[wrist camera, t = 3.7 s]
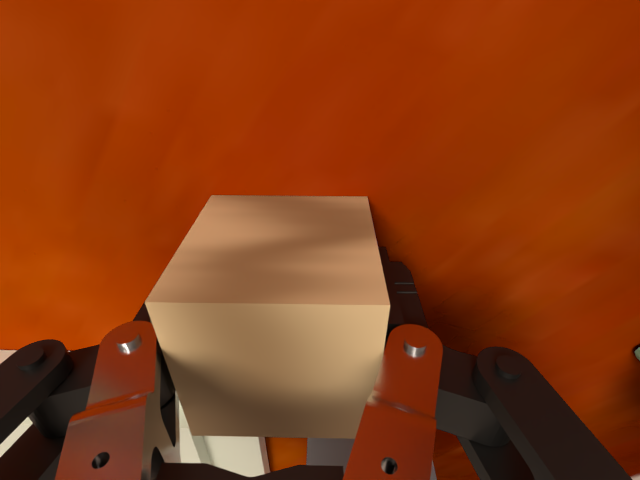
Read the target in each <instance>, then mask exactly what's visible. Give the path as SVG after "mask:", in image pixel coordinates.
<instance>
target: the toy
mask: <svg viewBox="0 0 640 480" xmlns="http://www.w3.org/2000/svg"><path fill="white" fill-rule="evenodd" d="M635 355H636V357H637V358H638V359H639V361H640V347H639V348H638V349H637V350H636V351H635Z"/></svg>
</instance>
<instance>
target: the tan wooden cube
mask: <svg viewBox="0 0 640 480" xmlns="http://www.w3.org/2000/svg"><path fill="white" fill-rule="evenodd" d="M145 305H146V307H147V310H148V313H149V316H150V319H151V322H152V324H153V327H154V330H155V333H156V336H157V338H158V341H159V344H160V347H161V350H162V353H163V355H164V358H165V361H166V364H167V367H168V369H169V372H170V375H171V378H172V381H173V383H174V386H175V389H176V392H177V395H178V398H179V400H180V403H181V406H182V409H183V412H184V414H185V417H186V420H187V423H188V426H189V429H190V431H191V434H192V436H236V437H291V438H346V439H355V437H356V434H357V431H358V428H359V424H360V421H361V418H362V414H363V411H364V408H365V405H366V402H367V399H368V397H369V396H371V394H372V391H373V388H374V384H375V381H376V378H377V374H378V371H379V367H380V364H381V361H382V357H383V353H384V346H385V339H386V332H387V325H388V318H389V311H390V301H389V297H388V292H387V287H386V283H385V278H384V273H383V268H382V264H381V259H380V254H379V250H378V245H377V240H376V235H375V231H374V226H373V221H372V216H371V212H370V207H369V202H368V198H367V197H356V196H232V195H211V197H210V199H209V200H208V202H207V203H206V205H205V207H204V208H203V210H202V211H201V213H200V215H199V216H198V218H197V219H196V221H195V223H194V224H193V226H192V227H191V229H190V231H189V232H188V234H187V235H186V237H185V239H184V240H183V242H182V243H181V245H180V247H179V248H178V250H177V251H176V253H175V255H174V256H173V258H172V259H171V261H170V262H169V264H168V266H167V267H166V269H165V270H164V272H163V274H162V275H161V277H160V278H159V280H158V282H157V283H156V285H155V286H154V288H153V290H152V291H151V293H150V294H149V296H148V298H147V299H146V301H145Z"/></svg>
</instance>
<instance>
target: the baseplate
mask: <svg viewBox="0 0 640 480" xmlns="http://www.w3.org/2000/svg"><path fill="white" fill-rule="evenodd" d="M16 351H18V350H0V364H1V363H2V362H3V361H5V360H6V359H7V358H8V357H9V356H11V355H12V354H13V353H15V352H16ZM68 352H70V351H68ZM32 424H33V423H32V421H31V420H30V419H29V417H27V418H26V419H25V420H24V421H23V422H22V423H21V424H20V425H19V426H18V427H17V428H16V429H15V430H14V431H13V432H12V433H11V434H10V435H9V436H8V437H7V438H6V439H5V440H4V441H3V442H2V443H1V444H0V457H1V456H2V455H3V454H4V453H5V452H6V451H7V450H8V449H9V448H10V447H11V446H12V445H13V444H14V442H15V441H16V440H17V439H18V438H19V437H20V436H21V435H22V434H23V433H24V432H25V431H26V430H27V429H28V428H29V427H30V426H31V425H32ZM179 427H180V457H181V463H207V464H210V465H213V466H216V467H219V468H222V469H225V470H228V471H231V472H234V473H237V474H240V475H243V476H247V477H255V476H259V475H263V474H266V473H270V469H269V462H268V456H267V450H266V443H265V437H236V436H192V434H191V431H190V429H189V426H188V423H187V420H186V417H185V414H184V412H183V409H182V406H181V403H180V400H179Z"/></svg>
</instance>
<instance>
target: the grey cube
mask: <svg viewBox="0 0 640 480" xmlns="http://www.w3.org/2000/svg"><path fill="white" fill-rule="evenodd" d="M354 441H355V439H346V438H308V442H307V462H306V465H324V466H343V471H344V473H345V470H346V467H347V464H348V460H349V457H350V454H351V450H352V447H353V444H354ZM430 480H437V478H436V473H435V469H434V465H433V460H432V467H431V476H430Z"/></svg>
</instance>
